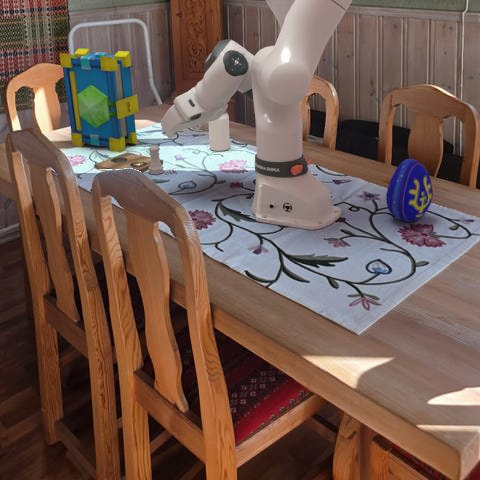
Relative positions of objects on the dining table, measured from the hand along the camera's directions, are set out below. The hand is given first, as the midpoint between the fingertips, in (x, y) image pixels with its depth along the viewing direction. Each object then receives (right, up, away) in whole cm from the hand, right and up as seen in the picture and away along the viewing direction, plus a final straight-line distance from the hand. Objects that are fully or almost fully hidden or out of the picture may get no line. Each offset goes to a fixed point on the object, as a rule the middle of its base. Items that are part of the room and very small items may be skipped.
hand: (182, 131), depth 187 cm
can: (+9, 0, +33) cm, 34 cm away
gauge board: (-18, -7, +19) cm, 27 cm away
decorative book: (-29, +2, +40) cm, 50 cm away
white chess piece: (-9, -10, +13) cm, 19 cm away
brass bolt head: (-14, -7, +16) cm, 23 cm away
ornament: (+56, -25, -23) cm, 65 cm away
